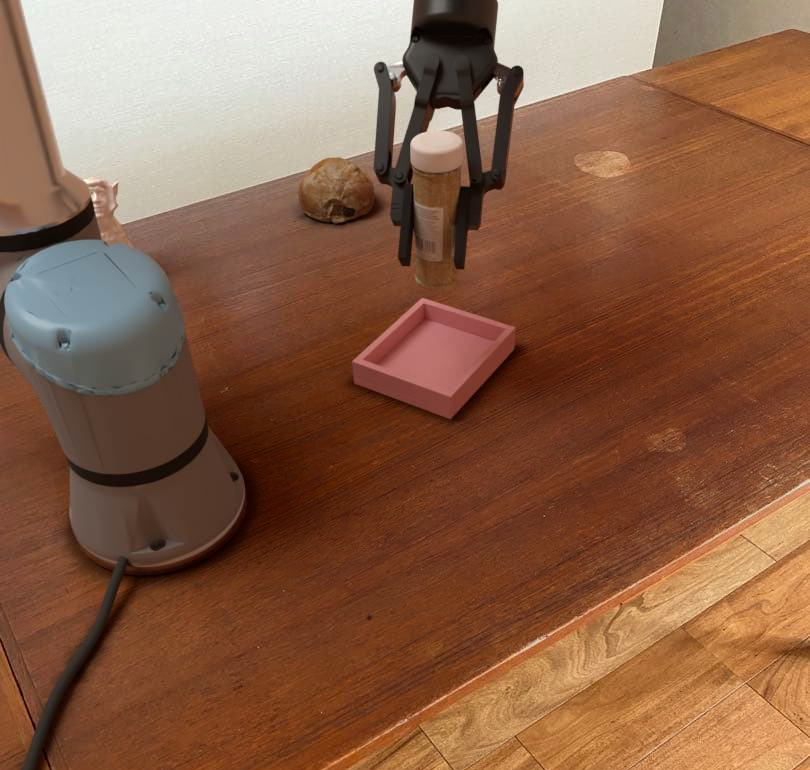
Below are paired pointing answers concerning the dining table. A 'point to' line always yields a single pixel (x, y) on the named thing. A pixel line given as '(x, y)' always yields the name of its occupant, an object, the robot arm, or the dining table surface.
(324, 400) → the dining table surface
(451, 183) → the spice jar
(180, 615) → the dining table surface
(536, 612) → the dining table surface
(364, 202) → the bread roll
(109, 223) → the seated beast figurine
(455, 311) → the pink tray
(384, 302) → the dining table surface
